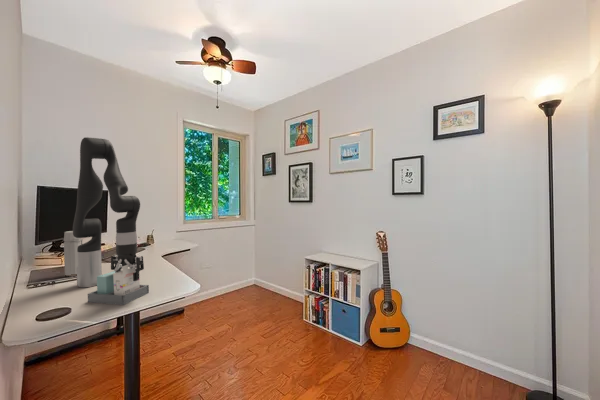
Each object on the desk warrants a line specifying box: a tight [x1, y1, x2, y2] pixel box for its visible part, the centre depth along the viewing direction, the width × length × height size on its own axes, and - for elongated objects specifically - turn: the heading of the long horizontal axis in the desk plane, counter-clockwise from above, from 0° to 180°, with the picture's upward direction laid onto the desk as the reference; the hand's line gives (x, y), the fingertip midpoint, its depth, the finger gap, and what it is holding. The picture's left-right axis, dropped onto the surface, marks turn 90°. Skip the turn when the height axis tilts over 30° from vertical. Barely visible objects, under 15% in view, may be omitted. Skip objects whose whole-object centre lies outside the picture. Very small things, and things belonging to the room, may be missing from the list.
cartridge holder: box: [87, 284, 150, 306], centre depth 111 cm, size 17×13×4 cm
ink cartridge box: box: [113, 264, 141, 295], centre depth 110 cm, size 9×5×15 cm, turn 168°
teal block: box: [96, 270, 115, 294], centre depth 111 cm, size 5×9×10 cm, turn 169°
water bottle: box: [63, 230, 84, 276], centre depth 146 cm, size 9×8×25 cm
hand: (127, 280), depth 110 cm, fingers open, 8 cm apart
